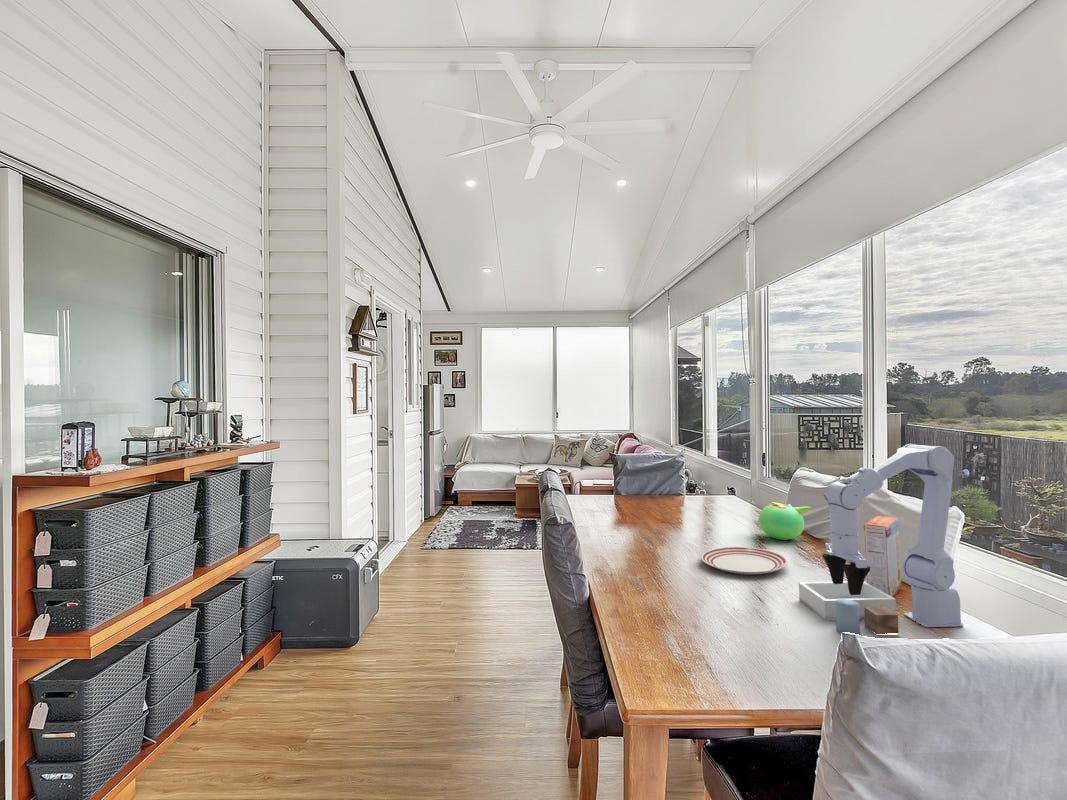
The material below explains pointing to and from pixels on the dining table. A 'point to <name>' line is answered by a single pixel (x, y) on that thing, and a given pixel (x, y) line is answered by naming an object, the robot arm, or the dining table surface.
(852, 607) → the blue cylinder
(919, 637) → the dining table surface
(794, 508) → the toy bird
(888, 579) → the cracker box
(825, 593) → the tote
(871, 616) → the walnut cube
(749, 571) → the dinner plate
